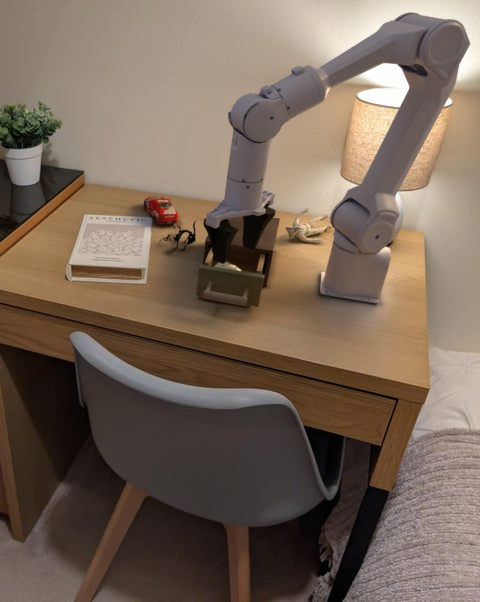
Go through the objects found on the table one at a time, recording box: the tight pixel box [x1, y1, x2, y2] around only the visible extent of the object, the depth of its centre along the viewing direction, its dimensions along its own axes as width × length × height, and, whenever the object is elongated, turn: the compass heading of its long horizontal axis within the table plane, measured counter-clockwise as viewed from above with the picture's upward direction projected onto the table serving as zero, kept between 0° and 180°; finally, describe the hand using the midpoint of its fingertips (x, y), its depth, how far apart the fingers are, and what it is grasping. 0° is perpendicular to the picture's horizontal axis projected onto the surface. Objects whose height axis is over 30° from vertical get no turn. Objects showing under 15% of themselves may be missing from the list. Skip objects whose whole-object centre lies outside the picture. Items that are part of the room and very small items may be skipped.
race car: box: [143, 195, 179, 226], centre depth 129 cm, size 13×5×4 cm, turn 9°
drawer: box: [195, 246, 266, 308], centre depth 99 cm, size 18×11×6 cm, turn 159°
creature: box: [158, 220, 197, 254], centre depth 115 cm, size 8×5×8 cm
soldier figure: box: [285, 207, 333, 244], centre depth 118 cm, size 8×5×12 cm
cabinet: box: [202, 216, 281, 287], centre depth 108 cm, size 14×12×7 cm
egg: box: [214, 262, 242, 271], centre depth 99 cm, size 6×4×4 cm
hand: (234, 254), depth 95 cm, fingers open, 7 cm apart
